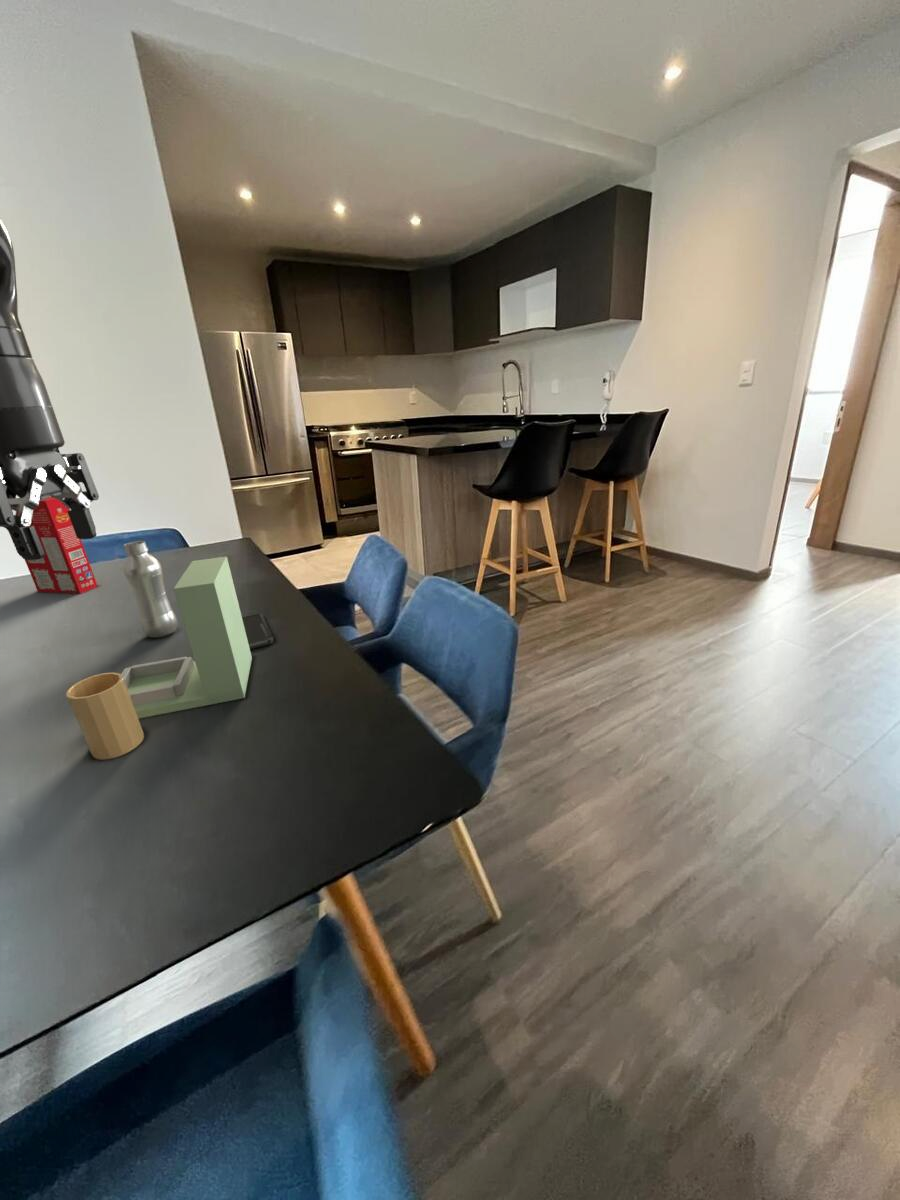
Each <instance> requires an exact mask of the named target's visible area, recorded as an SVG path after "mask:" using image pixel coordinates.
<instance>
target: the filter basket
mask: <svg viewBox="0 0 900 1200" xmlns="http://www.w3.org/2000/svg"><path fill="white" fill-rule="evenodd" d="M65 695H66V699H67V700H68V703H69V705H70V707H71V710H72V712H73V714H74V717H75V719H76V722H77V724H78V726H79V728H80V731H81V733H82V735H83V737H84V740H85V742H86V744H87V748H88V749H89V751H90V754H91V756H92V757H93V758H94V759H97V760H111V759H114V758H118V757H121V756H123V755H125V754H127V753H129V752H132V751H133V750H135V749H136V748H137V747H138V746H139V745H140V744H141V743H142V742H143V741H144V738H145V733H144V731H143V727H142V725H141V722H140V718H139V719H138V717H137V714H136V711H135V709H134V706H133V703H132V700H131V698H130V695H129V692H128V690H127V687H126V684H125V682H124V679H123V677H122V675H121V673H119V672H114V671H113V672H104V673H99V674H95V675H91V676H89V677H86V678H84V679H81V680H79V681H77V682H76V683H74V684H73V685H71V686H70V687H69V688H68V689H67V691H66V692H65Z"/></svg>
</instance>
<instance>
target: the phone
mask: <svg viewBox="0 0 900 1200" xmlns="http://www.w3.org/2000/svg"><path fill="white" fill-rule="evenodd" d="M242 620H243V624H244V628H245V632H246V636H247V640H248V644H249V648H250V651H252V650H254V649H258V648H262V647H266V646H269V645H272V644H273V643H274V637H273V635H272V632H271V631H270V628H269V626H268V624H267V621H266V620H265V618H264V616H263V614H262V613H254V614H250V615H246V616H242Z"/></svg>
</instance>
